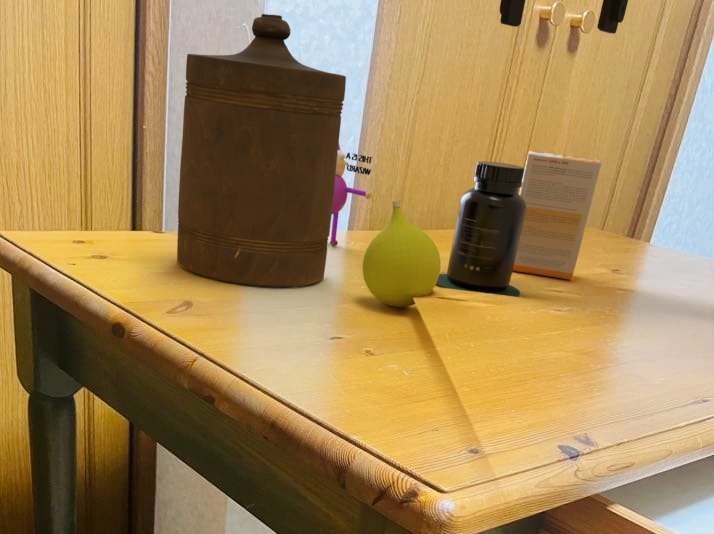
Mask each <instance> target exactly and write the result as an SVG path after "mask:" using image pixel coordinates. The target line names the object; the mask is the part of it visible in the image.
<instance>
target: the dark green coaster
mask: <svg viewBox="0 0 714 534" xmlns="http://www.w3.org/2000/svg"><path fill="white" fill-rule="evenodd" d="M435 286H437V287H439V288H442V289H449V290H456V291H465V292H473V293H481V294H489V295H498V296H505V297H513V298H517V297H519V296H520V294H521V292H520V290H519V289H518V288H516V287H515V286H513V285H511V284H509V286H508V287H507V289H505V290H503V291H499V292H485V291H477V290H471V289H466V288H462V287H459V286H456V285H454V284H452V283H450V282H449V281H448V279H447V273H440V274H439V278H438V280H437V283H436V285H435Z"/></svg>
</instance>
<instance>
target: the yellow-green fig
mask: <svg viewBox="0 0 714 534" xmlns="http://www.w3.org/2000/svg"><path fill="white" fill-rule="evenodd" d="M394 197H395V199H394V200H393V201H392V214H391V216H390V220H389V221H388V223H387V224H386V225H385V226H384V227H383V229H381V230H380V232H378V233H377V234H376V235H375V236H374V238H373V239H372V240H371V241H370V243H369V244H368V246H367V248H366V250H365V252H364V255H363V260H362V277H363V280H364V283H365V285H366V287H367V289H368V291H369V292H370V294H372V295H373V297H374V298H375V299H376V300H378V301H379V302H381V303H383V304H385V305H388V306H390V307H396V308H406V307H410V306H414V305H416V304H417V303H416V301H415V299H414V297H422V296H427V295H430V294H431V293H432V291H433V290H434V288H435V287H436V286H437V285H436V283H437V280H438V278H439V274H441V265H442V264H441V256H440V251H439V250H438V247H437V245H436V244H435V242H434V240H433V239H432V238H431V236H429V235H428V233H426V232H424V231H423V230H422V229H420V228H418V227H417V226H415V225H414V224H412V223H410V221H408V220H407V218H406V217H404V215H403V213H402V211H401V204H400V200H397V198H396V197H397V196H394Z"/></svg>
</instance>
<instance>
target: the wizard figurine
mask: <svg viewBox="0 0 714 534" xmlns="http://www.w3.org/2000/svg"><path fill="white" fill-rule="evenodd" d="M352 155H353V156H352V157H351V154H350V152H347V154H345V153H344V151H343V150H341V146H340V143H339V144H338V153H337V163H336V174H335V185H334V196H333V206H332V223H331V232H330V241H329V244H330V246H332V247H335V246H336V247H337V246H338V243H339V242H338V240H337V231H338V222H339V213H340V211H341V210H342V209H343V208H344V206H345V205H346V202H347V199H348V193H349V194H352V195H357V196H361V197H364V198H366V199H368V200H370V199H372V195H373V194H372V192H371V190H366V191H365V190H362V189H357V188H353V187H348V185H347V183H346V181H345V179H344V177H342V176H343V175H344V174H345V169H346V170H347V171H348V172H353V173H357V174H361V175H366V176H370V174H371V171H372V168H367V167H364V166H359V165H358V166H356V165H353V164H349V162H347V159H348V160H352V161H356V162H361V163H366V164H372V159H373V157H372V156H367V155H362V154H359V155H358V153H352ZM358 156H359V158H358Z"/></svg>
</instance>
